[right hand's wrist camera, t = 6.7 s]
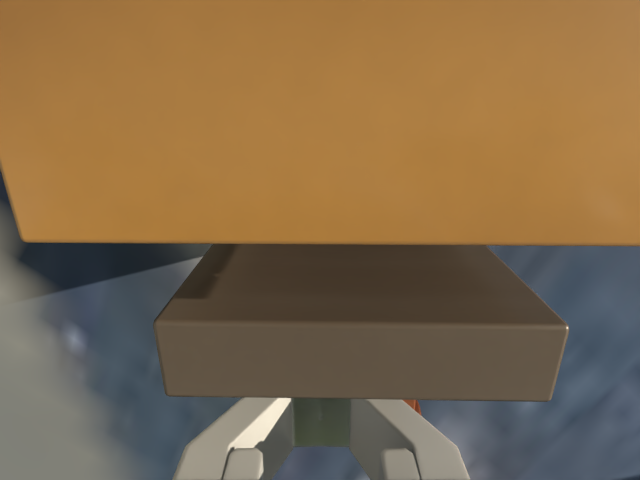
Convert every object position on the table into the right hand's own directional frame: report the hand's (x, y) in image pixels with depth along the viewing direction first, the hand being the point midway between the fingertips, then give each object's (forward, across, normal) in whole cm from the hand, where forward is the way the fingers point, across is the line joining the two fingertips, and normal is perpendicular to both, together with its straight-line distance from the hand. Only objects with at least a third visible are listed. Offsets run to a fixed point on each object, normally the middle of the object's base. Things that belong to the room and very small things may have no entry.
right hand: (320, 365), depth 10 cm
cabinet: (+5, -1, -14) cm, 15 cm away
